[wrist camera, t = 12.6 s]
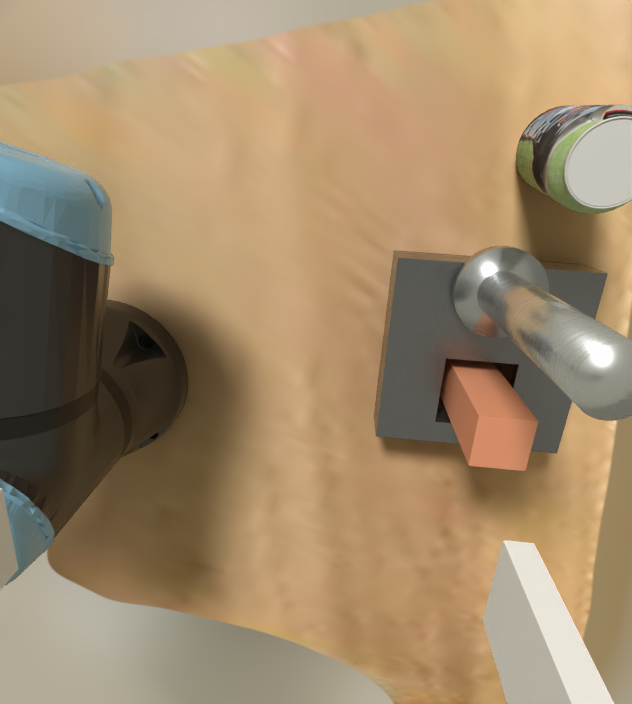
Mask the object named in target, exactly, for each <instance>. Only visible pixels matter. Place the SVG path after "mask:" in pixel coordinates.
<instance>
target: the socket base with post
mask: <svg viewBox="0 0 632 704" xmlns="http://www.w3.org/2000/svg"><path fill="white" fill-rule="evenodd" d="M606 277H607V273H605V272H602V271H599V270H597V269H594V268H591V267H588V266H586V265H580V264H567V263H554V262H540V261H538V260H537V259H536V258H535V257H534V256H532V255H531V254H529V253H527V252H525V251H523V250H520V249H518V248H514V247H510V246H494V247H490V248H486V249H484V250H481V251H479V252H477V253H475V254H474V255H473V256H461V255H447V254H434V253H421V252H407V251H394V254H393V262H392V270H391V278H390V287H389V295H388V303H387V312H386V320H385V328H384V336H383V345H382V353H381V361H380V370H379V378H378V386H377V395H376V403H375V411H374V421H375V432H376V436H378V437H389V438H400V439H410V440H421V441H432V442H442V443H453V444H460V443H459V441H458V438H457V436H456V433H455V431H454V428H453V426H452V424H451V421H450V419H449V416H448V414H447V411H446V409H445V406H444V404H443V403H438V402H439V397H440V391H441V385H442V379H443V373H444V368H445V362H446V358H448V359H459V360H471V361H483V362H494V363H501V366H500V372H501V373H502V375H503V376H504V377H505V379H506V380H507V381H508V382H509V384H510V385H511V386H512V388H513V389H514V390H515V392H516V393H517V394H518V395H519V397H520V398H521V399H522V401H523V402H524V403H525V405H526V406H527V407H528V408H529V410H530V411H531V412H532V414H533V415H534V416H535V418H536V419H537V420H538V425H537V429H536V432H535V436H534V440H533V444H532V448H531V451H538V452H549V453H557V451H558V448H559V444H560V441H561V437H562V434H563V430H564V426H565V423H566V419H567V416H568V412H569V409H570V405H571V402H572V401H573V402H574V403H575V404H576V405H577V406H578V407H579V408H580V409H581V410H582V411H583V412H584V413H586V414H587V415H589V416H591V417H593V418H596V419H599V420H607V421H612V420H620V419H624V418H628V417H630V416H632V341H631V340H630V339H628V338H626V337H625V336H623V335H621V334H619V333H618V332H616V331H614V330H612V329H611V328H609V327H607V326H605V325H604V324H602V323H600V322H598V321H597V320H595V317H596V313H597V309H598V306H599V302H600V299H601V295H602V292H603V288H604V285H605V281H606Z"/></svg>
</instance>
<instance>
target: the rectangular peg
mask: <svg viewBox="0 0 632 704" xmlns="http://www.w3.org/2000/svg"><path fill="white" fill-rule="evenodd" d="M440 396H441V399H442V401H443V404H444V406H445V409H446V411H447V414H448V416H449V419H450V421H451V424H452V426H453V428H454V431H455V433H456V436H457V438H458V441H459V443H460V446H461V448H462V451H463V453H464V456H465V458H466V461H467V463H468V465H469V466H478V467H488V468H499V469H509V470H519V471H526V467H527V463H528V459H529V456H530V452H531V448H532V444H533V440H534V436H535V432H536V429H537V425H538V420H537V419H536V418H535V416H534V415H533V414H532V412H531V411H530V410H529V408H528V407H527V406H526V405H525V403H524V402H523V401H522V399H521V398H520V397H519V395H518V394H517V393H516V392H515V390H514V389H513V388H512V386H511V385H510V384H509V382H508V381H507V380H506V379H505V377H504V376H503V375H502V373H501V372H500V371H499V369H498V368H497V367H496V366H495V364H494V363H493V362H483V361H471V360H459V359H448V358H446V362H445V368H444V373H443V379H442V385H441V391H440Z"/></svg>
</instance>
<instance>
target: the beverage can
mask: <svg viewBox="0 0 632 704" xmlns="http://www.w3.org/2000/svg"><path fill="white" fill-rule="evenodd" d="M516 163H517V168H518V170H519V173H520V175H521V176H522V178H523V179H524V180H525V181H526V182H527V184H529V185H530V186H532V187H533V188H535V189H537V190H538V191H540V192H542V193H543V194H545V195H546V196H548V197H550V198H551V199H553V200H555V201H556V202H558V203H560V204H561V205H563V206H564V207H566V208H568V209H570V210H573V211H575V212H579V213H584V214H597V213H604V212H608V211H611V210H614V209H616V208H618V207H621V206H623V205H624V204H626V203H628V202H629V201H631V200H632V107H631V106H625V105H580V106H560V107H555V108H553V109H550V110H548V111H546V112H544V113H542V114H541V115H539V116H538V117H537V118H535V119H534V120H533V121H532V122H531V123H530V124H529V125H528V127H527V128H526V129H525V131H524V132H523V134H522V136H521V138H520V140H519V143H518V146H517V152H516Z"/></svg>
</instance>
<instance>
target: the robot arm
mask: <svg viewBox="0 0 632 704" xmlns="http://www.w3.org/2000/svg"><path fill="white" fill-rule="evenodd" d="M111 225H112V206H111V202H110V198H109V196H108V194H107V192H106V191H105V189H104V188H103V187H102V185H101V184H100V183H99V182H98V181H96V180H95V179H94V178H93V177H91V176H90V175H88V174H86V173H84V172H82V171H80V170H78V169H75V168H73V167H71V166H68V165H65V164H63V163H60V162H58V161H55V160H52V159H50V158H47V157H44V156H41V155H39V154H36V153H33V152H30V151H27V150H24V149H21V148H18V147H15V146H12V145H9V144H6V143H3V142H0V590H1V589H2V588H3V586H4V585H7V584H8V583H10V582H11V581H13V580H14V579H16V578H17V577H18V576H19V575H20V574H21V573H22V572H23V571H24V570H25V569H26V568H27V567H28V566H29V565H30V564H32V562H34V561H35V560H36V559H37V558H38V557H39V556H40V555H41V554H42V553H44V552H45V551H46V550H47V549H48V548H49V547H50V546H51V545H52V543H53V542H54V538H55V537H56V535H57V534H58V533H59V532H60V530H61V529H62V528H63V527H64V526H65V524H66V523H67V522H68V521H69V520H70V518H71V517H72V516H73V515H74V513H75V512H76V511H77V510H78V509H79V507H80V506H81V505H82V504H83V503H84V501H85V500H86V499H87V498H88V496H89V495H90V494H91V493H92V492H93V490H94V489H95V488H96V487H97V485H98V484H99V483H100V482H101V481H102V479H103V478H104V477H105V476H106V475H107V473H108V472H109V471H110V470H111V468H112V467H113V466H114V465H115V463H116V462H117V461H118V460H119V459H120V458H121V457H123V456H125V455H128V454H130V453H132V452H134V451H136V450H138V449H140V448H142V447H144V446H146V445H148V444H150V443H152V442H154V441H155V440H157V439H158V438H159V437H160V436H162V435H163V434H164V433H165V432H166V431H167V430H168V428H169V427H170V426H171V425H172V423H173V422H174V421H175V419H176V418H177V417H178V415H179V414H180V412H181V410H182V408H183V406H184V403H185V400H186V396H187V389H188V377H187V370H186V365H185V362H184V359H183V356H182V354H181V352H180V350H179V348H178V346H177V344H176V343H175V341H174V340H173V338H172V337H171V336H170V334H169V333H168V332H167V331H166V330H165V329H164V328H163V327H162V326H161V325H160V324H159V323H158V322H157V321H156V320H154V319H153V318H152V317H151V316H149V315H148V314H146V313H144V312H143V311H141V310H139V309H137V308H135V307H133V306H130V305H128V304H125V303H121V302H117V301H112V300H107V297H108V287H109V277H110V267H111V266H112V265H113V264H114V257H113V255H112V254H111ZM483 623H484V626H485V630H486V633H487V637H488V640H489V643H490V647H491V650H492V654H493V657H494V660H495V664H496V667H497V670H498V674H499V677H500V681H501V684H502V687H503V691H504V694H505V698H506V701H507V704H614V702H613V701H612V698H611V697H610V694H609V693H608V690H607V689H606V686H605V684H604V682H603V680H602V678H601V677H600V675H599V672H598V670H597V669H596V666H595V664H594V662H593V660H592V658H591V656H590V654H589V652H588V650H587V649H586V646H585V644H584V642H583V640H582V638H581V636H580V634H579V632H578V630H577V628H576V626H575V624H574V622H573V620H572V618H571V616H570V614H569V612H568V610H567V608H566V606H565V604H564V602H563V600H562V598H561V596H560V594H559V592H558V590H557V588H556V586H555V584H554V582H553V580H552V578H551V576H550V574H549V572H548V570H547V568H546V566H545V564H544V562H543V560H542V558H541V556H540V554H539V552H538V550H537V548H536V546H535V544H534V543H526V542H517V541H507V540H503V543H502V547H501V551H500V555H499V559H498V563H497V567H496V570H495V574H494V578H493V582H492V586H491V590H490V594H489V598H488V602H487V606H486V610H485V614H484V618H483Z"/></svg>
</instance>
